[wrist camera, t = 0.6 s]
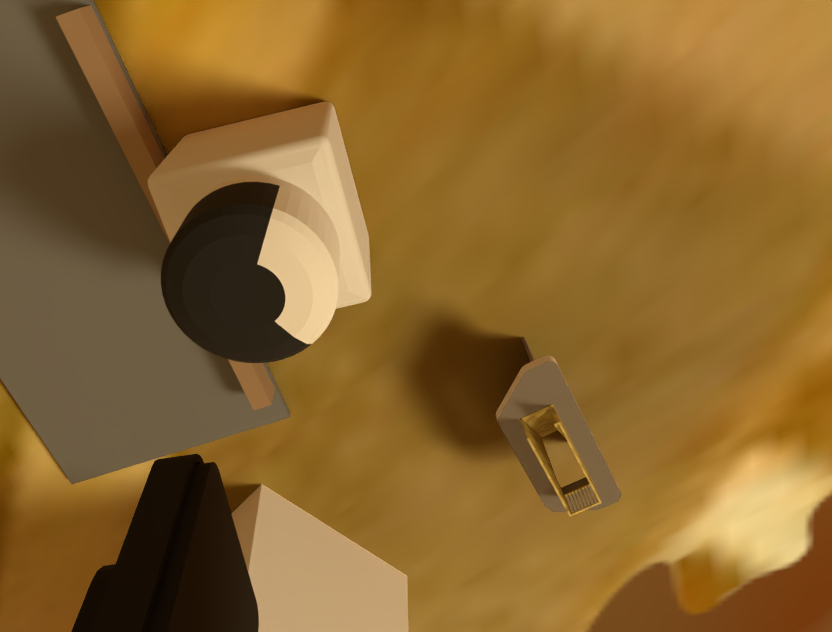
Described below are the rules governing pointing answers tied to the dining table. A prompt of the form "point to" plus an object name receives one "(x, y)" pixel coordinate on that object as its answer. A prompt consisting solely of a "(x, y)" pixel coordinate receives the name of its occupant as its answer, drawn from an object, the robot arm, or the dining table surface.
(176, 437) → the tipping mat
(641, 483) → the dining table surface
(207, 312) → the medicine bottle
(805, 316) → the dining table surface
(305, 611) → the milk
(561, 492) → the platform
